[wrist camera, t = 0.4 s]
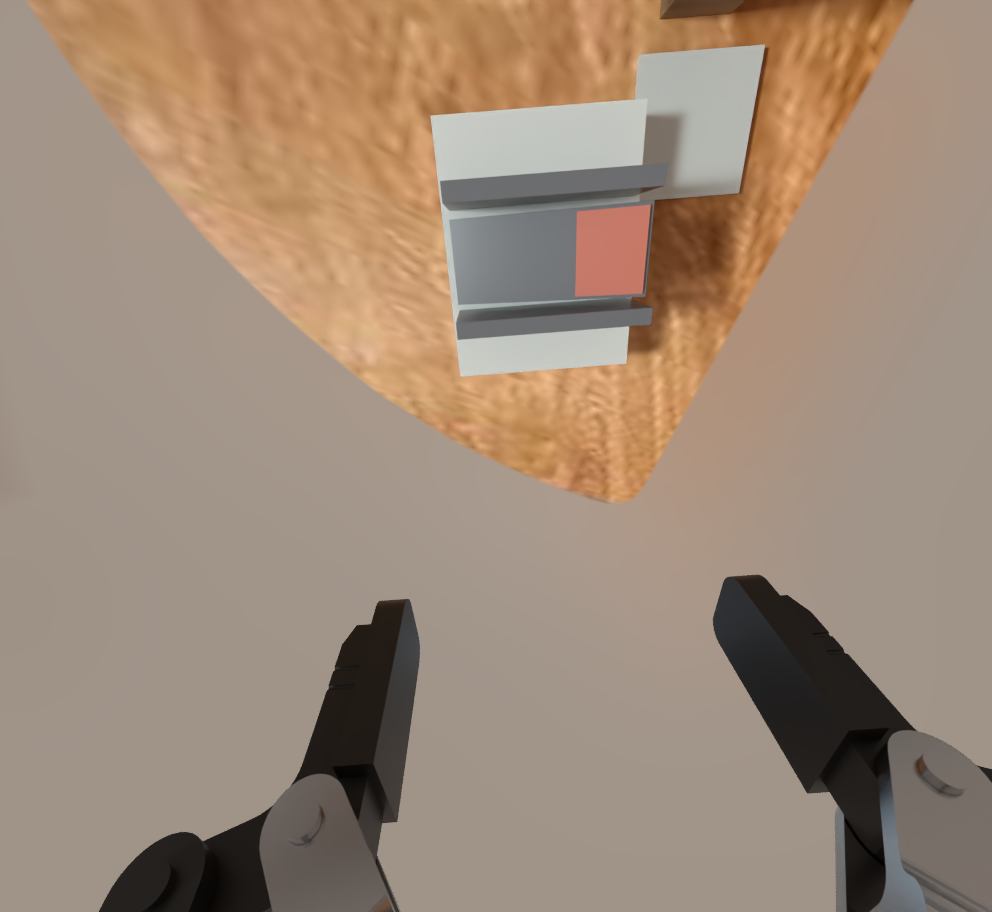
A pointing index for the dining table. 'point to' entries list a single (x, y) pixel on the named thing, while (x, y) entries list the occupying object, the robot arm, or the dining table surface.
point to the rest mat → (698, 117)
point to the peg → (697, 7)
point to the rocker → (553, 254)
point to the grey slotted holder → (539, 187)
